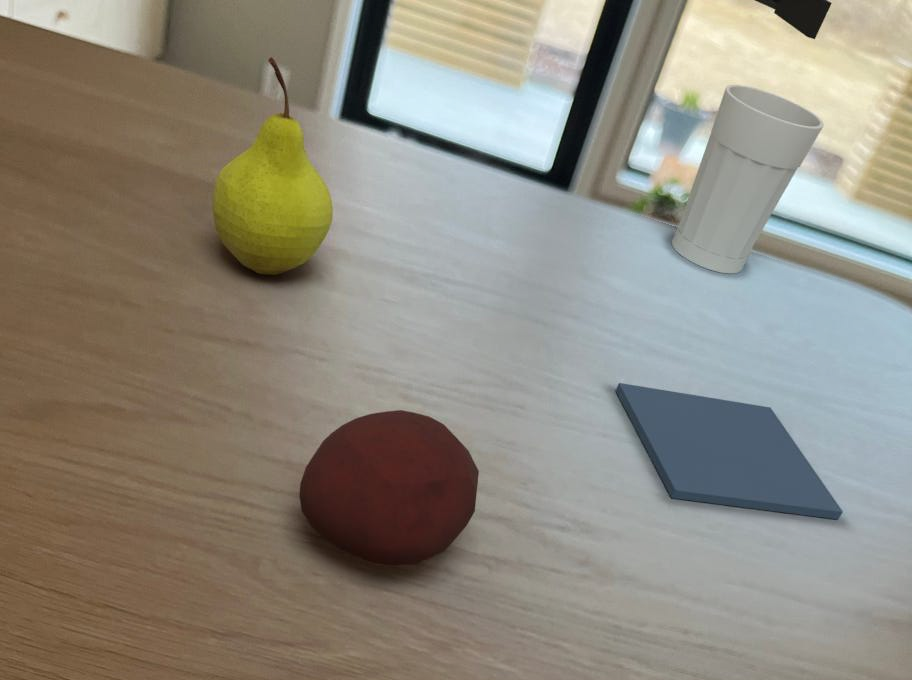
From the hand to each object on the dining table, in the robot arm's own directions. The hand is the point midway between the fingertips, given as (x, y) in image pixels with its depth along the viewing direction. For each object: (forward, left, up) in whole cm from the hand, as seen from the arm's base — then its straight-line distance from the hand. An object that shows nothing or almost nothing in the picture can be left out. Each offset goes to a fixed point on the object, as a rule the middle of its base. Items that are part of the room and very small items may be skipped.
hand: (749, 0), depth 83 cm
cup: (-1, +10, -17) cm, 19 cm away
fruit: (+37, +27, -17) cm, 49 cm away
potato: (+33, +53, -17) cm, 65 cm away
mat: (+10, +41, -17) cm, 45 cm away
